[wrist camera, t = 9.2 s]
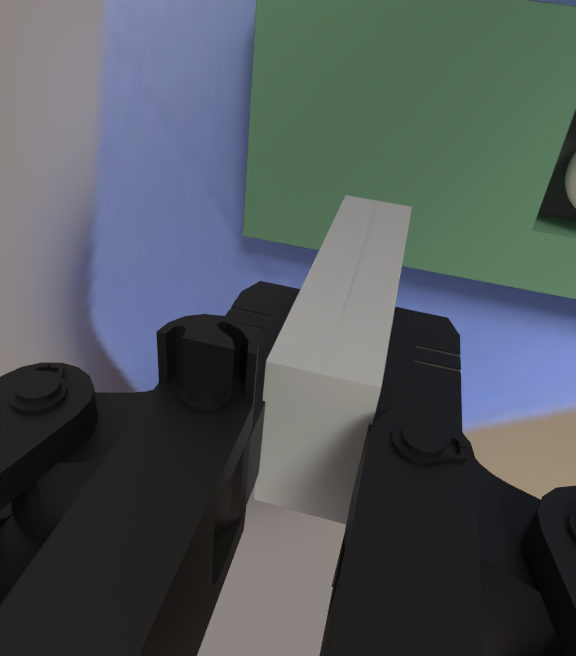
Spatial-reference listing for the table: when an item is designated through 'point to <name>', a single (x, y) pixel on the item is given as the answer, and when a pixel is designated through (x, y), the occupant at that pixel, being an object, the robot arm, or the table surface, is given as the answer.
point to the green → (420, 130)
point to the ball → (571, 180)
